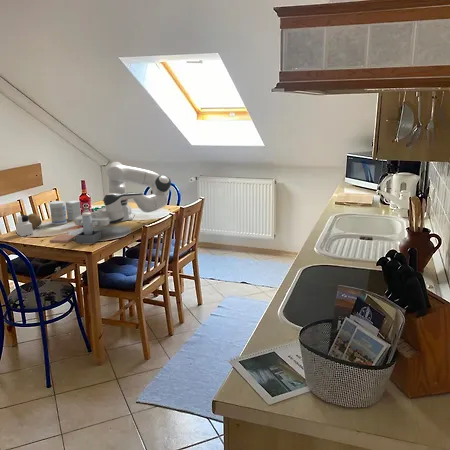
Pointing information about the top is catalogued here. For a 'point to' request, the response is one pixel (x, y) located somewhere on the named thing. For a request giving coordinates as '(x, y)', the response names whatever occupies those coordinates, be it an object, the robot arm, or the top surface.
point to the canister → (87, 224)
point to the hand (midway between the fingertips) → (86, 224)
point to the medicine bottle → (24, 226)
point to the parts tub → (88, 237)
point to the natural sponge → (34, 220)
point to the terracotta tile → (63, 238)
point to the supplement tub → (58, 212)
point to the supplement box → (73, 210)
